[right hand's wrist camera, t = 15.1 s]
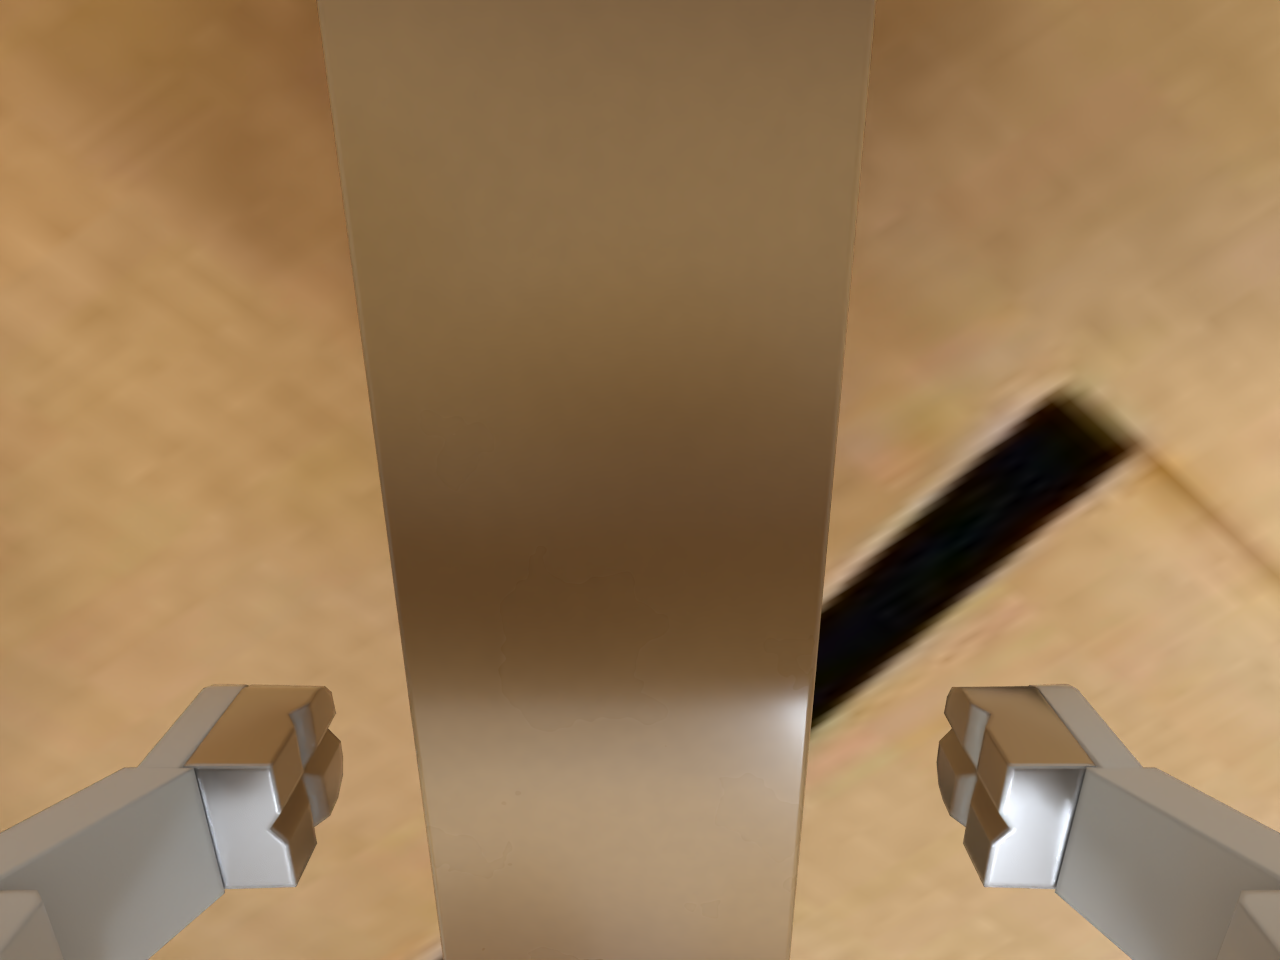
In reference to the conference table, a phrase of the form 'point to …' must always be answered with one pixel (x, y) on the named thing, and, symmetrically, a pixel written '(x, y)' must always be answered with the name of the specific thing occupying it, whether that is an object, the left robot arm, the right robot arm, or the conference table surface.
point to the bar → (605, 442)
